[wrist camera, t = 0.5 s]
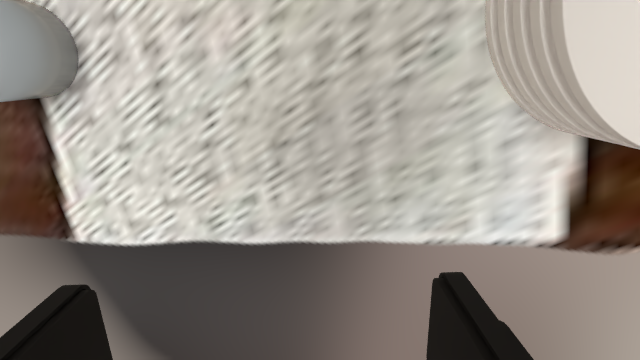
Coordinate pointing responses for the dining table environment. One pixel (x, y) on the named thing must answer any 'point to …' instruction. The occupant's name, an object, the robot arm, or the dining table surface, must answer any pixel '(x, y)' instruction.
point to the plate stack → (571, 63)
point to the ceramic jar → (34, 52)
